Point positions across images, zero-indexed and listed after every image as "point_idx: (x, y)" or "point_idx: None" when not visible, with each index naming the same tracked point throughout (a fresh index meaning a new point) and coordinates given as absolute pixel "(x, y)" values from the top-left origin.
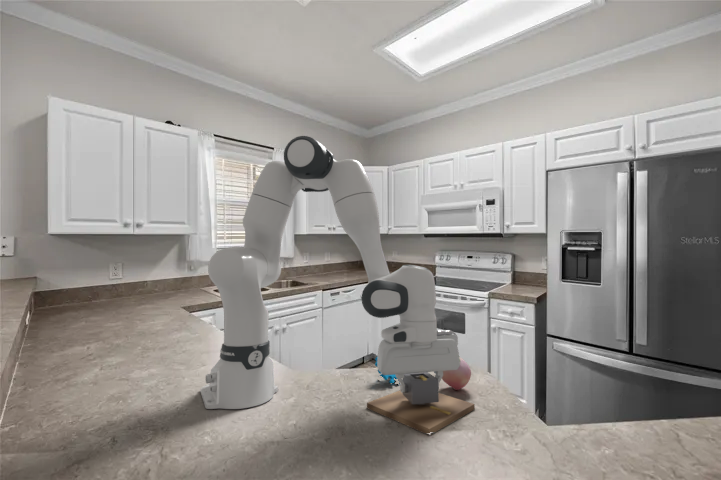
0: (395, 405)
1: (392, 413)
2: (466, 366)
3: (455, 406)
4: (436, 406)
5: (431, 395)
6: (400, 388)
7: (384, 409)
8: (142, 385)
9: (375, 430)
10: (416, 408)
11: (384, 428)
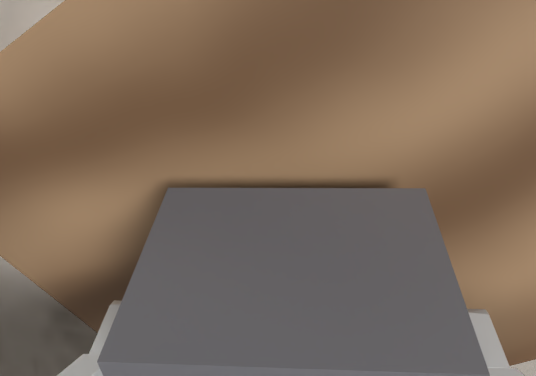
0: (104, 237)
1: (77, 316)
2: None
3: (511, 324)
4: None
5: None
6: (107, 318)
7: (26, 270)
8: None
9: (7, 348)
10: None
11: (47, 344)
